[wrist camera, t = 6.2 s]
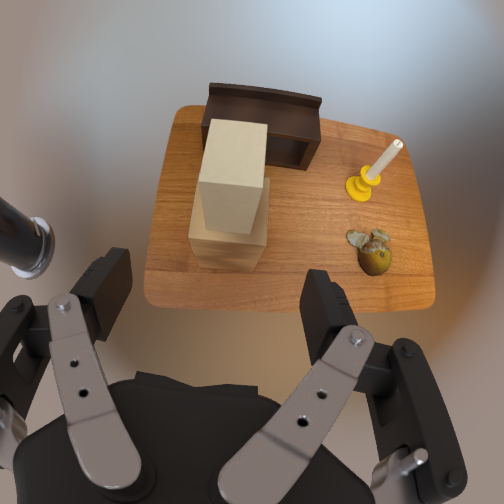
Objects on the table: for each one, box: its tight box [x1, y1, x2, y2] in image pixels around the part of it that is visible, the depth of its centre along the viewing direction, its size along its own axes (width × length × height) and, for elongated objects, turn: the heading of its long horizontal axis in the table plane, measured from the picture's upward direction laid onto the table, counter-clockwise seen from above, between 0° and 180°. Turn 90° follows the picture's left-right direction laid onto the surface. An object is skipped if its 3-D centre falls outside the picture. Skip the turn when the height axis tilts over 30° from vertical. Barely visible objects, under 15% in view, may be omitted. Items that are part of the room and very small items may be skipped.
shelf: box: [201, 83, 322, 171], centre depth 43 cm, size 18×8×11 cm, turn 85°
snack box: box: [199, 119, 267, 234], centre depth 25 cm, size 4×6×10 cm
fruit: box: [347, 229, 392, 276], centre depth 43 cm, size 8×8×4 cm
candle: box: [345, 139, 403, 202], centre depth 41 cm, size 5×5×16 cm
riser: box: [188, 171, 271, 273], centre depth 36 cm, size 8×8×14 cm
